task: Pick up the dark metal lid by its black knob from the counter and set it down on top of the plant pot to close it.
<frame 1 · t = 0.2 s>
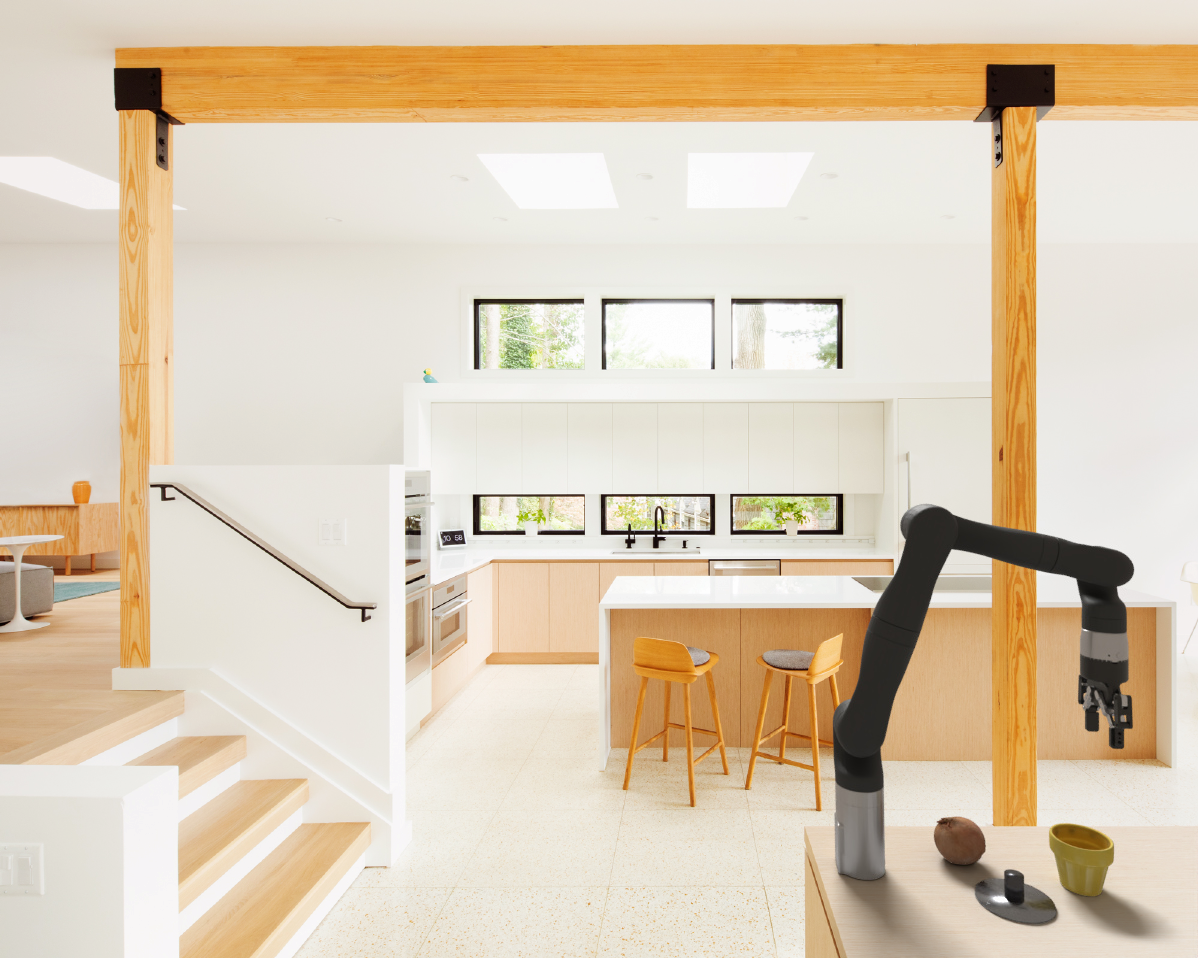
hand: (1103, 739, 137), 28 cm above the table, tool pointing down, fingers open, 8 cm apart
plant pot: (1081, 887, 139), on the table
lid: (1014, 903, 135), on the table
onion: (959, 861, 149), on the table
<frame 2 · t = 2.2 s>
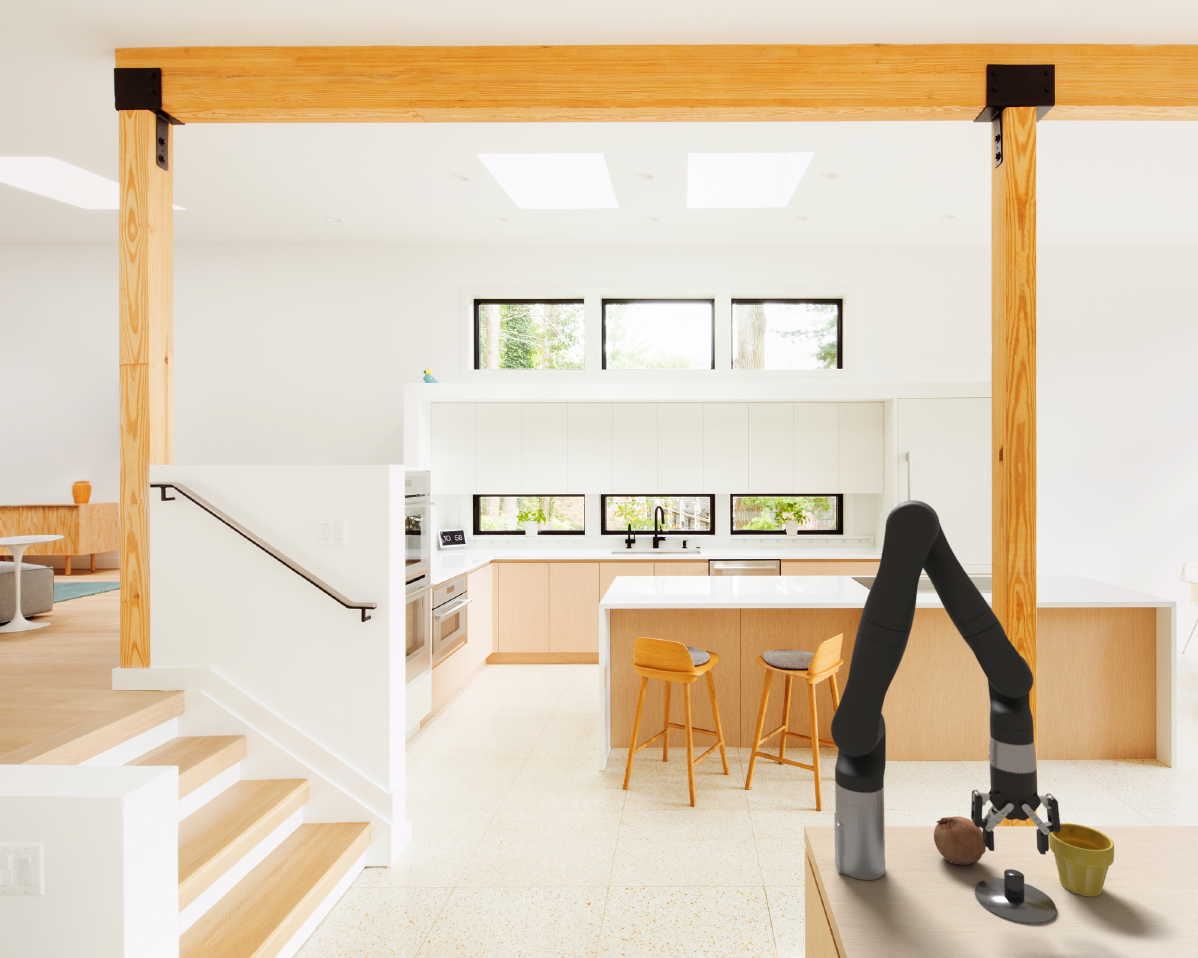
hand: (1015, 850, 134), 10 cm above the table, tool pointing down, fingers open, 8 cm apart
nothing on the table moved.
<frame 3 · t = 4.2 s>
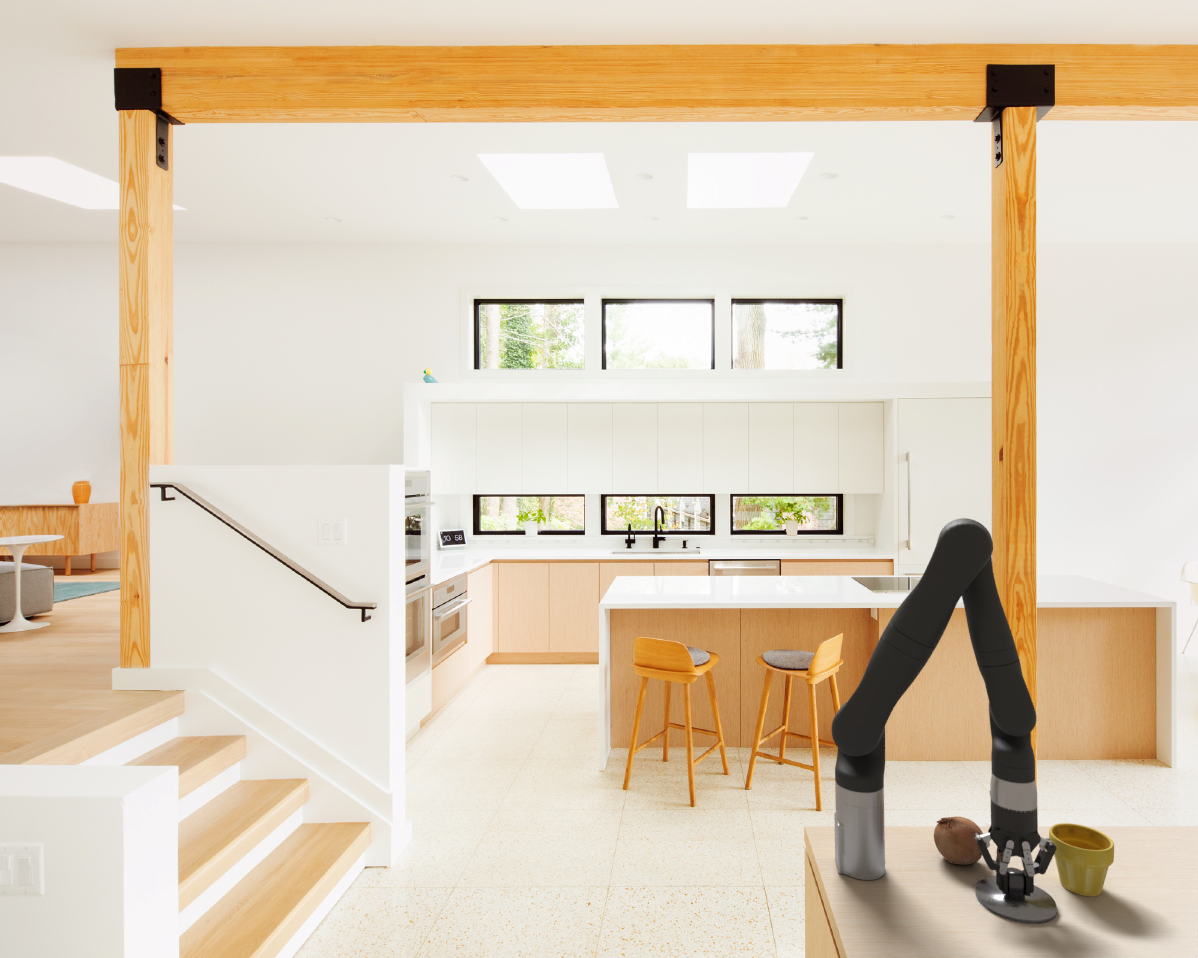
hand: (1015, 891, 135), 2 cm above the table, tool pointing down, fingers closed on lid, 3 cm apart
lid: (1015, 901, 135), on the table, touching gripper
everything else where it was.
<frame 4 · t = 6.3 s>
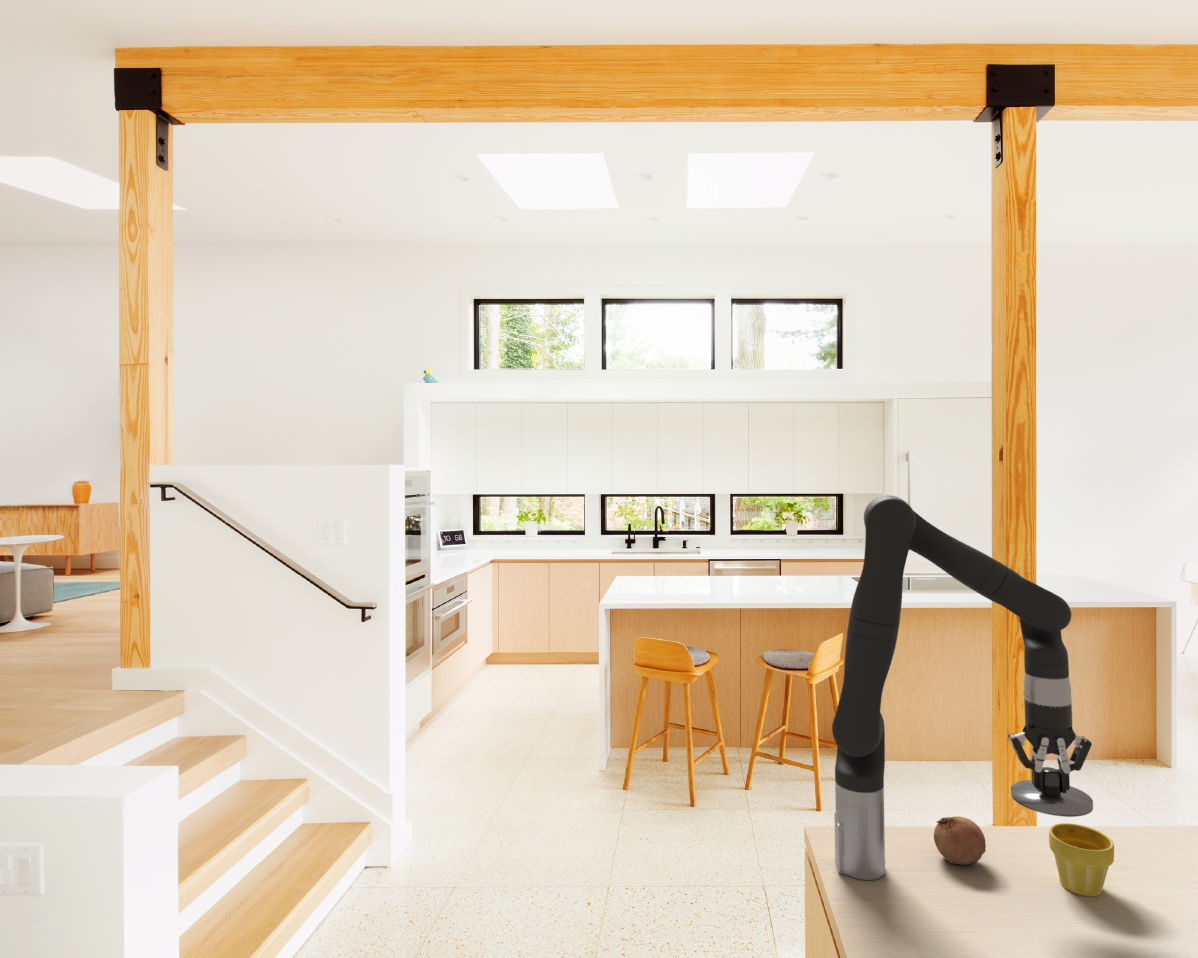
hand: (1051, 790, 136), 20 cm above the table, tool pointing down, fingers closed on lid, 3 cm apart
lid: (1051, 799, 136), point 18 cm above the table, touching gripper
everything else where it was.
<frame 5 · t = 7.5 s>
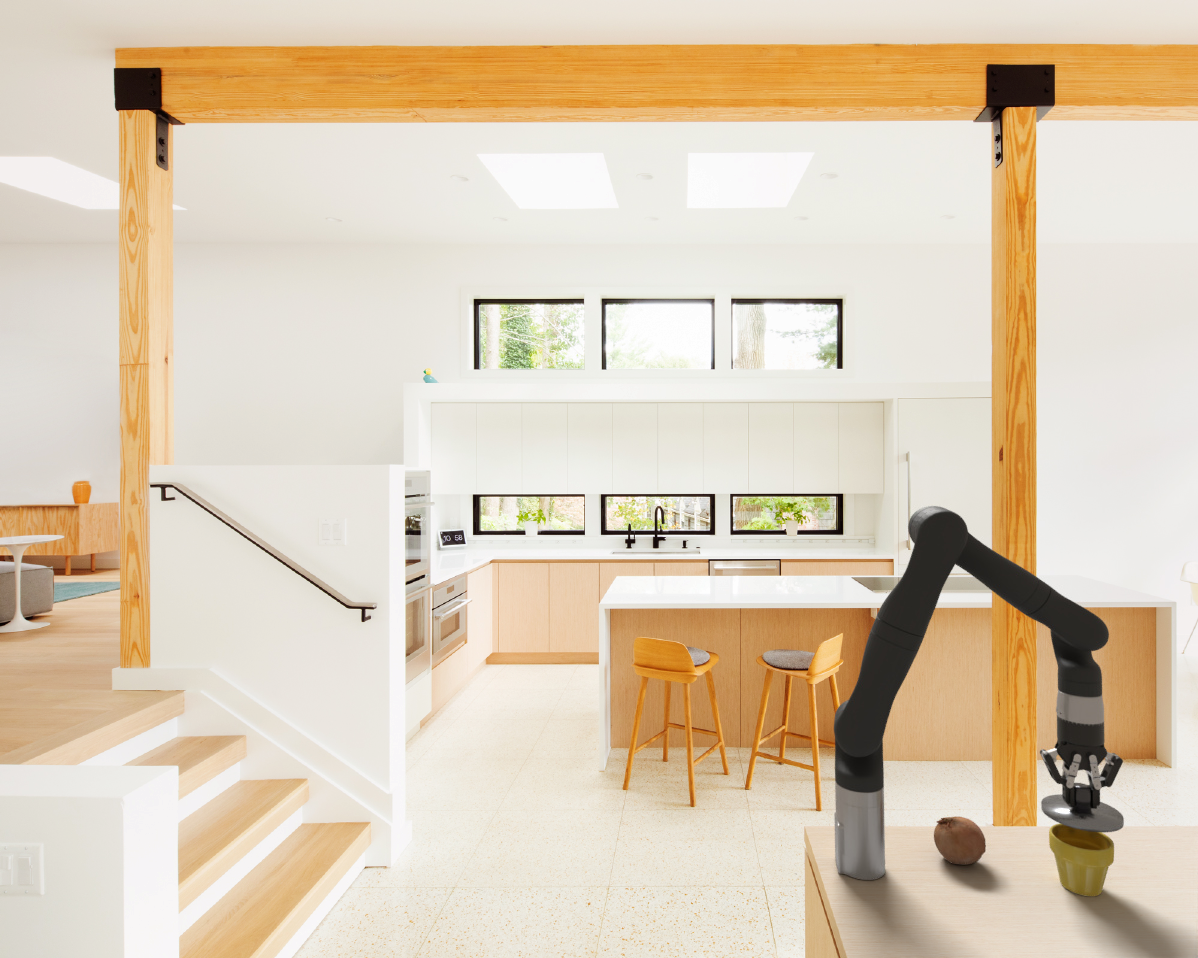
hand: (1081, 805, 138), 16 cm above the table, tool pointing down, fingers closed on lid, 3 cm apart
lid: (1081, 815, 138), point 14 cm above the table, touching gripper
everything else where it was.
when the fingers open (13 cm above the table, at t = 8.6 s): lid drops 2 cm, resting on plant pot.
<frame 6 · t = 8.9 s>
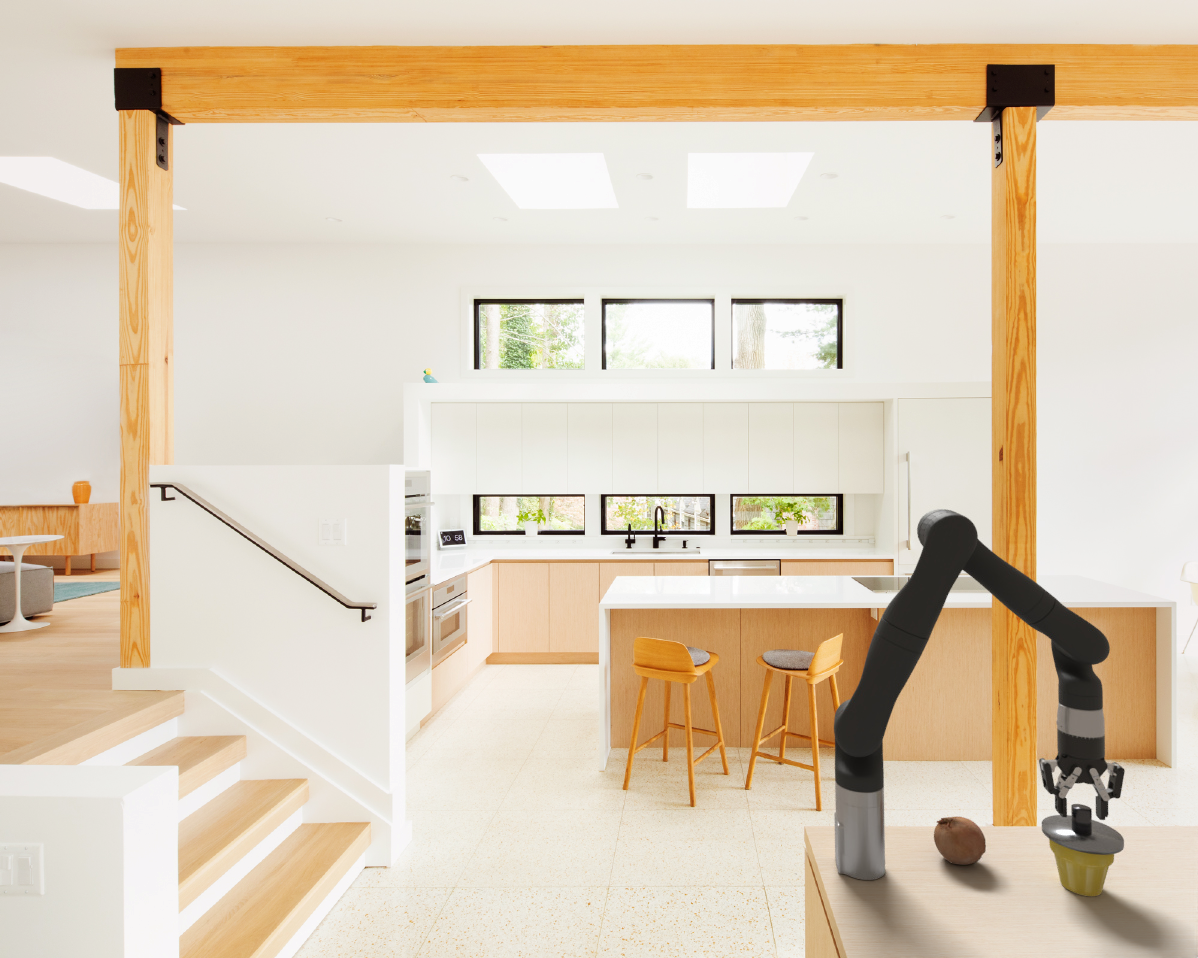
hand: (1081, 816, 138), 14 cm above the table, tool pointing down, fingers open, 6 cm apart
plant pot: (1081, 887, 139), on the table, touching lid
lid: (1081, 836, 138), point 10 cm above the table, touching plant pot
everything else where it was.
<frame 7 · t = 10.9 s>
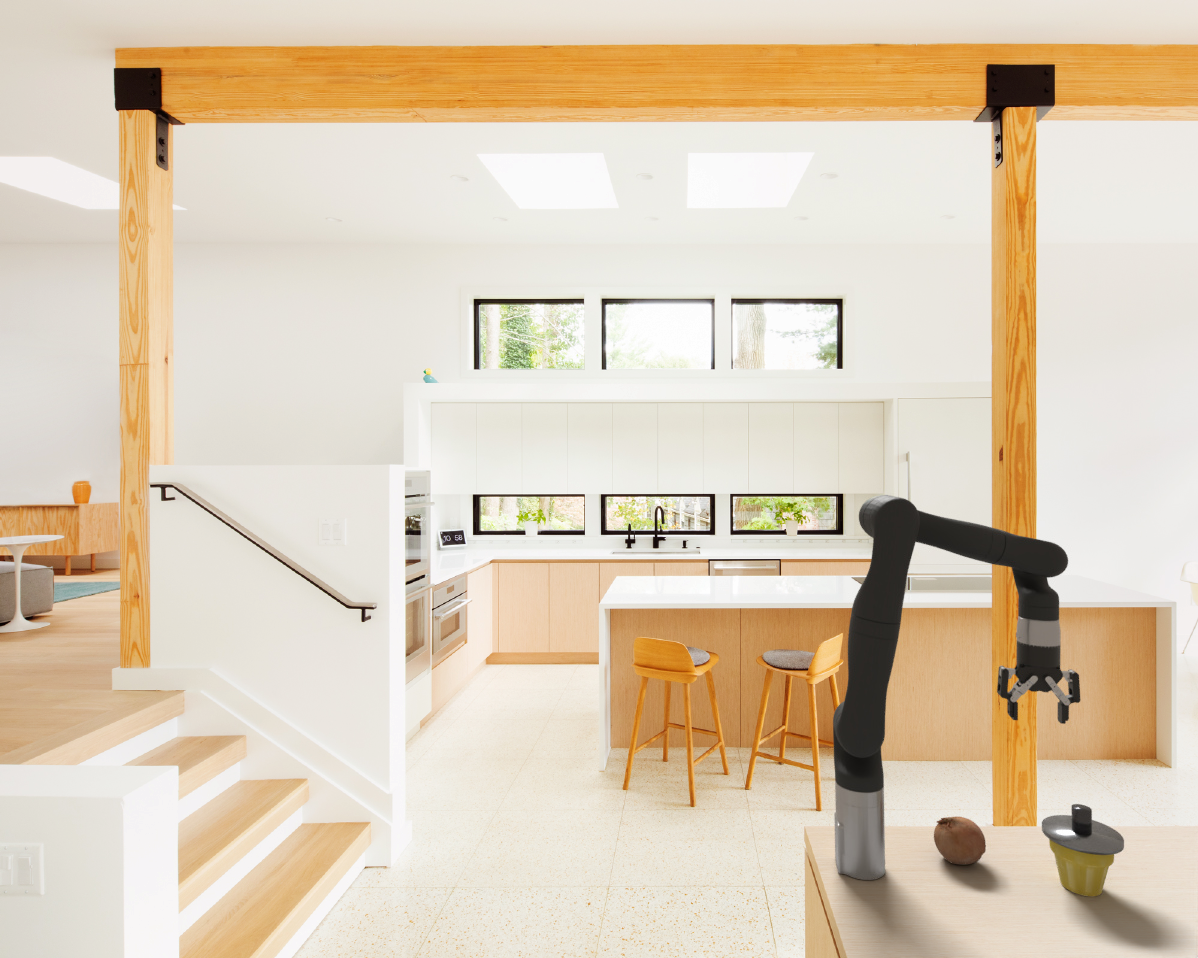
hand: (1037, 720, 146), 29 cm above the table, tool pointing down, fingers open, 8 cm apart
nothing on the table moved.
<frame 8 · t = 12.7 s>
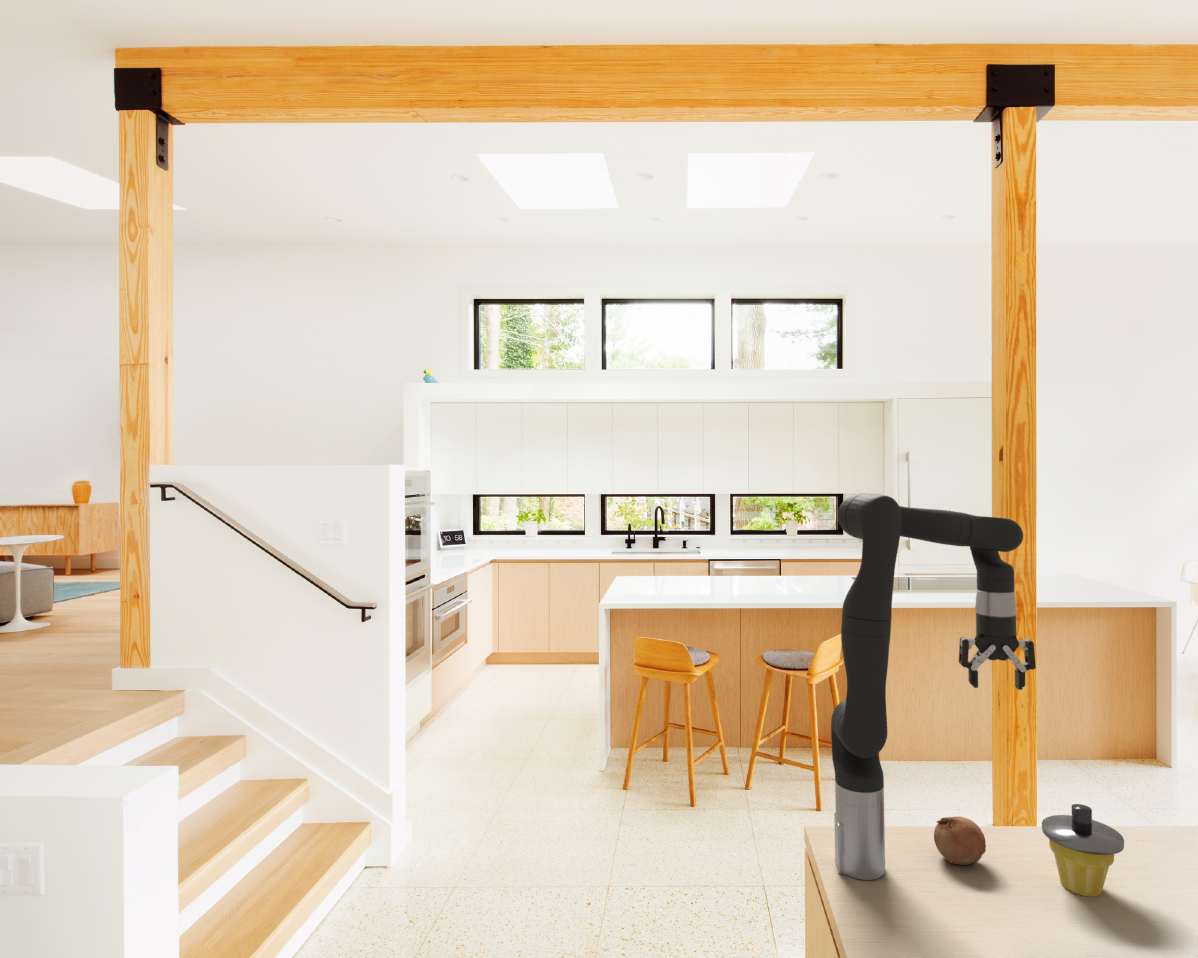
hand: (996, 687, 155), 33 cm above the table, tool pointing down, fingers open, 8 cm apart
nothing on the table moved.
at the end: lid 0.2 cm off-centre on the plant pot, point 10.0 cm above the plant pot's base; lid tilted 0°; the gripper is holding nothing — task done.
